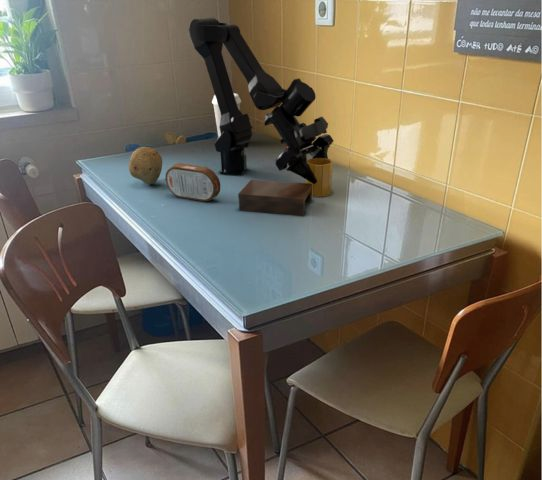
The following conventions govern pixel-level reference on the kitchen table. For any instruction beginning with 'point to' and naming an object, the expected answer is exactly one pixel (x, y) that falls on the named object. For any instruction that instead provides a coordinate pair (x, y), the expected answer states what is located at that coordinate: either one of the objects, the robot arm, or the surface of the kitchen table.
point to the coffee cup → (218, 113)
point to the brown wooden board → (275, 197)
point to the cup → (321, 176)
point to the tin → (193, 182)
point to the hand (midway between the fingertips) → (323, 179)
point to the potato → (145, 165)
